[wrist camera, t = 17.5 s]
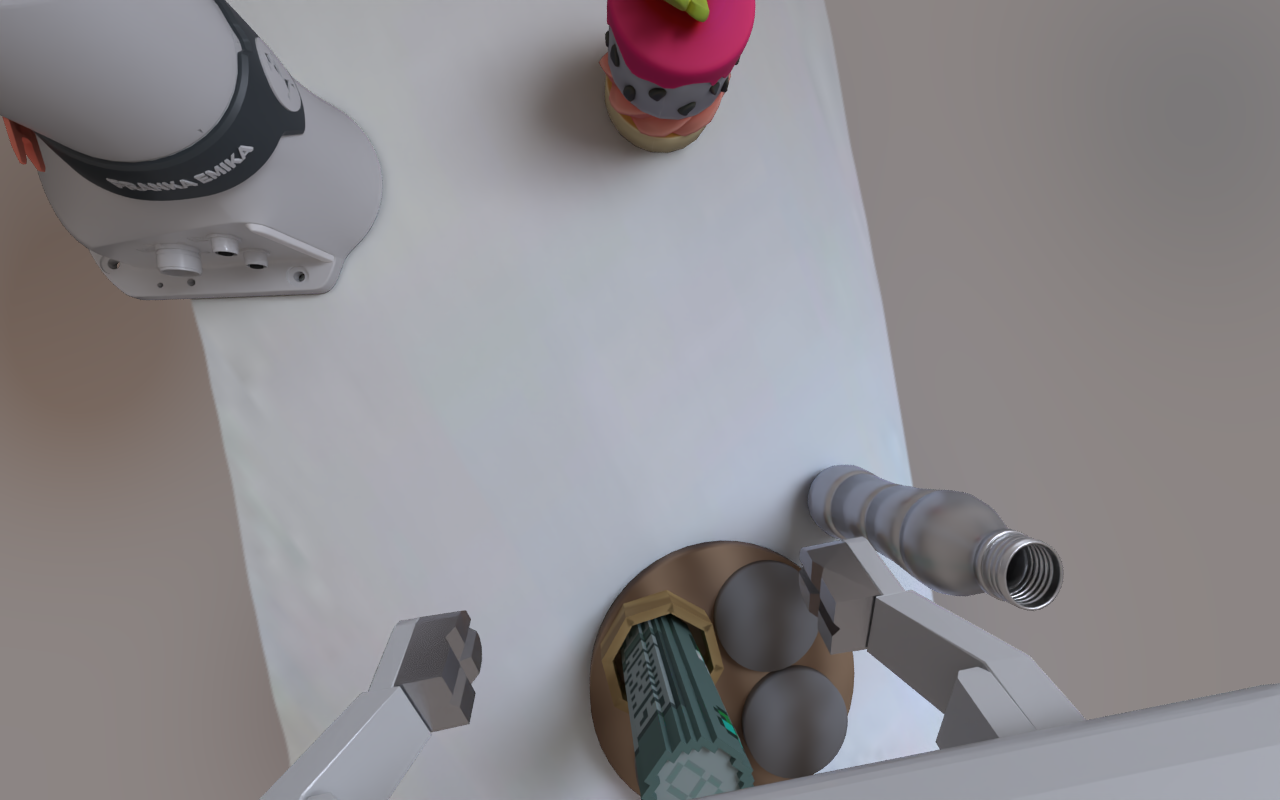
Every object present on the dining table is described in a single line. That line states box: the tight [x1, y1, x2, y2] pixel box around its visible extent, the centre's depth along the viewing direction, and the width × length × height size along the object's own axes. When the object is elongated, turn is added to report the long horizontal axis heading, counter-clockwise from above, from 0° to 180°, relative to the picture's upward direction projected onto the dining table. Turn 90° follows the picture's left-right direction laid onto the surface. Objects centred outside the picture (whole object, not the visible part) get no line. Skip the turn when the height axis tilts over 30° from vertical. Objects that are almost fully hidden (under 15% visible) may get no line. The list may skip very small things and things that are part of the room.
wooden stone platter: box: [590, 541, 854, 796], centre depth 41 cm, size 24×24×4 cm
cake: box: [599, 0, 755, 153], centre depth 34 cm, size 10×11×15 cm
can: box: [620, 613, 755, 800], centre depth 33 cm, size 6×6×15 cm
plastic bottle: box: [808, 465, 1064, 611], centre depth 34 cm, size 6×7×20 cm
